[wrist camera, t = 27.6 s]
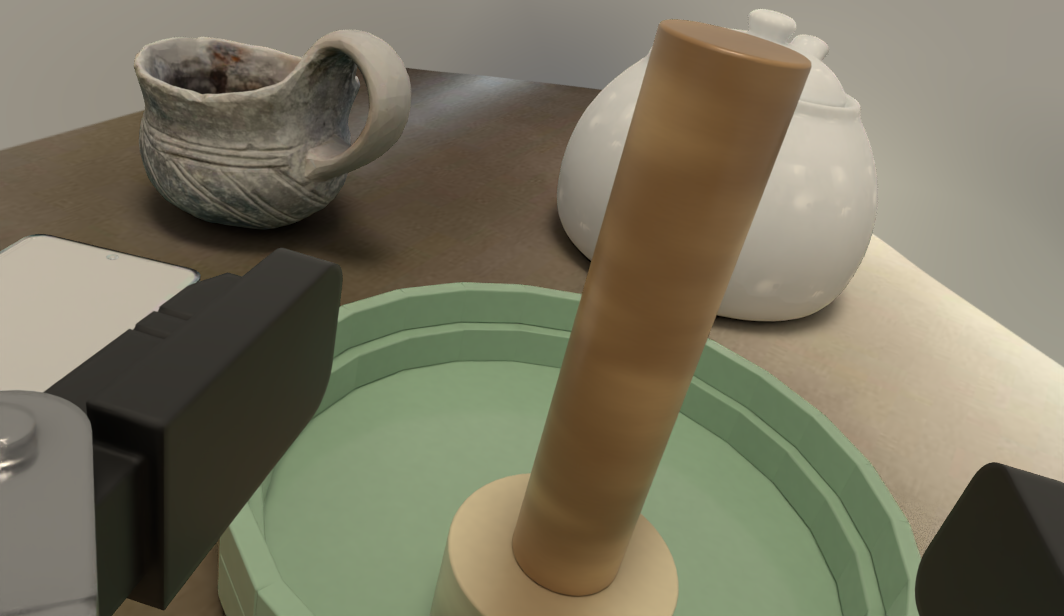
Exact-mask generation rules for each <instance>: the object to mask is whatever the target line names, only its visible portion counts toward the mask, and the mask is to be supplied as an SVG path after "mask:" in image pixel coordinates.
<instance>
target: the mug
mask: <svg viewBox="0 0 1064 616" xmlns="http://www.w3.org/2000/svg"><path fill="white" fill-rule="evenodd" d="M357 67H358V68H359V70H360V71H361V73H362V75H363V78H364V80H365V83H366V87H367V90H368V96H369V114H368V118H367V122H366V126H365V127H364V129H363V131H362V132H361V134H360V135H359V137H358V138H357V140H356V141H355V142H354V143H353V144H352V145H351V144H350V131H349V128H348V117H349V113H350V110H351V107H352V104H353V102H354V100H355V97H356V95H357V93H358V91H359V88H360V83H359V80H358V78H357V76H356V71H357ZM134 69H135V72H136V75H137V78H138V81H139V84H140V87H141V90H142V93H143V97H144V102H145V111H144V113H143V118H142V120H141V125H140V132H139V146H140V153H141V157H142V161H143V164H144V168H145V170H146V173H147V176H148V178H149V179H150V181H151V183H152V184H153V185H154V187H155V188H156V189H157V191H158V192H159V193H160V194H161V195H162V196H163V197H164V199H165V200H167V201H169V202H170V203H172V204H173V205H175V206H176V207H178V208H180V209H181V210H183V211H185V212H187V213H189V214H191V215H193V216H195V217H196V218H200V219H202V220H204V221H207V222H211V223H220V224H224V225H230V226H237V227H244V228H253V229H271V228H278V227H281V226H287V225H289V224H292V223H295V222H298V221H300V220H302V219H304V218H306V217H308V216H310V215H311V214H313V213H315V212H317V211H320V210H322V209H323V208H325V207H326V205H328V204H329V202H331V201H332V200H333V199H334V198H335V197H336V195H337V194H338V192H339V191H340V189H341V188H342V186H343V185H344V182H345V180H346V177H347V174H348V173H349V172H351V171H353V170H356V169H358V168H360V167H362V166H364V165H367V164H369V163H370V162H372V161H374V160H375V159H377V158H379V157H380V156H382V155H383V154H384V153H385V152H386V151H388V150H389V149H390V148H391V147H392V146H393V145H394V144H395V143H396V142H397V141H398V139H399V138H400V136H401V134H402V132H403V130H404V128H405V125H406V123H407V121H408V116H409V112H410V105H411V85H410V79H409V76H408V74H407V71H406V68H405V66H404V64H403V61H402V60H401V59H400V57H399V56H398V55H397V53H396V52H395V51H394V49H393V48H392V47H391V46H390V45H389V44H388V43H386V42H385V41H384V40H382V39H381V38H378V37H377V36H374V35H372V34H370V33H368V32H366V31H358V30H336V31H334V32H331V33H329V34H327V35H325V36H324V37H322V38H320V39H319V40H317V42H316V43H315V44H314V45H313V46H312V47H311V48H310V49H309V50H308V51H307V52H306V53H305V54H304V56H303V57H297V56H293V55H291V54H288V53H284V52H281V51H278V50H275V49H271V48H267V47H263V46H255V45H249V44H243V43H239V42H234V41H229V40H223V39H216V38H209V37H199V38H197V39H194V38H186V37H174V38H169V39H164V40H159V41H157V42H154V43H151V44H147V45H146V46H144V47H143V48H142V50H141V51H140V52H139V53H137V55H136V57H135V60H134Z"/></svg>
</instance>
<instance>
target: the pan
mask: <svg viewBox="0 0 1064 616" xmlns="http://www.w3.org/2000/svg"><path fill="white" fill-rule="evenodd" d="M581 296H582V294H578V293H572V292H566V291H560V290H554V289H548V288H542V287H536V286H530V285H522V284H497V283H470V282H462V283H460V282H458V283H448V284H439V285H430V286H420V287H411V288H402V289H397V290H393V291H390V292H387V293H383V294H380V295H376V296H373V297H369V298H366V299H362V300H359V301H355V302H352V303H349V304H345V305H342V306H340V307H339V315H338V323H337V331H336V339H335V347H334V355H333V364H332V370H331V375H330V379H329V383H328V386H327V389H326V392H325V395H324V397H323V399H322V402H321V404H320V406H319V408H318V409H317V411H316V413H315V414H314V416H313V417H312V419H311V420H310V421H309V422H308V424H307V425H306V426H305V428H304V429H303V430H302V432H301V433H300V434H299V435H298V437H297V438H296V439H295V441H294V442H293V443H292V445H291V446H290V447H289V448H288V450H287V451H286V452H285V454H284V455H283V456H282V458H281V459H280V460H279V461H278V463H277V464H276V465H275V467H274V468H273V469H272V471H271V472H270V473H269V474H268V476H267V477H266V478H265V480H264V481H263V482H262V484H261V485H260V486H259V487H258V489H257V490H256V491H255V493H254V494H253V495H252V497H251V498H250V499H249V501H248V502H247V503H246V504H245V506H244V507H243V508H242V510H241V511H240V512H239V514H238V515H237V516H236V517H235V519H234V520H233V521H232V523H231V524H230V525H229V527H228V528H227V529H226V530H225V532H224V533H223V534H222V536H221V537H220V538H219V540H218V595H219V598H220V601H221V604H222V606H223V609H224V612H225V614H226V616H430V611H431V606H432V602H433V598H434V593H435V589H436V585H437V580H438V576H439V572H440V567H441V563H442V559H443V554H444V550H445V546H446V541H447V537H448V533H449V528H450V525H451V523H452V520H453V517H454V516H455V514H456V512H457V510H458V509H459V507H460V506H461V505H462V504H463V502H464V501H465V500H466V499H467V498H468V497H469V496H470V495H472V494H473V493H474V492H475V491H476V490H478V489H479V488H481V487H483V486H484V485H486V484H488V483H490V482H493V481H495V480H497V479H501V478H504V477H507V476H512V475H518V474H527V473H531V471H532V467H533V464H534V460H535V457H536V453H537V450H538V446H539V443H540V439H541V436H542V432H543V429H544V425H545V422H546V418H547V415H548V411H549V408H550V404H551V401H552V397H553V394H554V390H555V387H556V383H557V380H558V376H559V373H560V369H561V366H562V362H563V359H564V355H565V352H566V348H567V345H568V341H569V338H570V334H571V331H572V327H573V324H574V320H575V317H576V313H577V310H578V306H579V303H580V299H581ZM641 514H642V515H643V516H644V517H645V518H646V519H647V520H648V521H649V522H650V523H651V524H652V525H653V526H654V527H655V529H656V530H657V531H658V532H659V534H660V535H661V536H662V538H663V540H664V541H665V543H666V545H667V546H668V548H669V550H670V552H671V555H672V557H673V560H674V563H675V566H676V569H677V576H678V582H679V595H678V600H677V606H676V609H675V611H674V614H673V616H919V613H918V610H917V606H916V601H915V581H916V575H917V571H918V567H919V564H920V561H921V556H920V553H919V550H918V547H917V544H916V541H915V538H914V534H913V531H912V528H911V525H910V524H909V521H908V519H907V518H906V516H905V515H904V513H903V512H902V510H901V509H900V507H899V505H898V504H897V502H896V501H895V499H894V498H893V496H892V495H891V493H890V491H889V490H888V488H887V487H886V485H885V484H884V482H883V481H882V479H881V477H880V476H879V474H878V473H877V471H876V470H875V468H874V467H873V466H872V464H871V463H870V462H869V460H868V459H867V458H866V457H865V456H864V455H863V454H862V453H861V452H860V451H859V450H858V449H857V448H856V447H855V446H854V445H853V444H852V443H851V442H850V441H849V440H848V439H847V438H846V436H845V435H844V434H843V433H842V432H841V431H840V430H839V429H838V428H837V427H836V426H835V425H834V424H833V423H832V422H831V421H830V420H829V419H828V418H827V417H826V416H825V415H823V413H822V412H820V411H819V410H818V409H816V408H815V407H814V406H812V405H811V404H810V403H808V402H807V401H806V400H805V399H803V398H802V397H801V396H799V395H798V394H797V393H795V392H794V391H793V390H791V389H790V388H789V387H787V386H786V385H785V384H784V383H782V382H781V381H780V380H778V379H777V378H776V377H774V376H773V375H772V374H770V373H769V372H768V371H766V370H764V369H762V368H761V367H759V366H757V365H755V364H754V363H752V362H750V361H748V360H747V359H745V358H743V357H741V356H740V355H738V354H736V353H734V352H733V351H731V350H729V349H727V348H726V347H724V346H722V345H720V344H719V343H717V342H715V341H713V340H710V339H709V338H708V339H707V341H706V344H705V346H704V349H703V352H702V354H701V357H700V360H699V362H698V365H697V367H696V370H695V373H694V375H693V378H692V380H691V383H690V386H689V388H688V391H687V393H686V396H685V399H684V401H683V404H682V406H681V409H680V412H679V414H678V417H677V419H676V422H675V425H674V427H673V430H672V432H671V435H670V438H669V440H668V443H667V446H666V448H665V451H664V453H663V456H662V459H661V461H660V464H659V466H658V469H657V472H656V474H655V477H654V479H653V482H652V485H651V487H650V490H649V492H648V495H647V498H646V500H645V503H644V505H643V508H642V511H641Z"/></svg>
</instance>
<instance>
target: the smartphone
mask: <svg viewBox="0 0 1064 616" xmlns="http://www.w3.org/2000/svg"><path fill="white" fill-rule="evenodd" d="M197 282H200V274H199V272H197V271H196V270H194V269H191V268H187V267H183V266H178V265H174V264H170V263H166V262H162V261H157V260H153V259H149V258H145V257H140V256H136V255H132V254H128V253H124V252H119V251H115V250H111V249H107V248H103V247H98V246H94V245H90V244H86V243H81V242H77V241H73V240H69V239H65V238H60V237H56V236H52V235H46V234H35V235H30V236H26V237H24V238H22V239H21V240H19V241H17V242H16V243H14V244H12V245H11V246H9V247H7V248H6V249H4V250H2V251H0V391H7V390H24V391H36V392H44V391H45V390H47V389H48V388H49V387H51V386H52V385H53V384H55V383H56V382H57V381H59V380H60V379H62V378H63V377H64V376H66V375H67V374H68V373H70V372H71V371H72V370H74V369H75V368H76V367H78V366H79V365H81V364H82V363H83V362H85V361H86V360H87V359H89V358H90V357H91V356H93V355H94V354H96V353H97V352H98V351H100V350H101V349H102V348H104V347H105V346H106V345H108V344H109V343H110V342H112V341H113V340H115V339H116V338H117V337H119V336H120V335H121V334H123V333H124V332H125V331H127V330H128V329H132V330H134V328H135V325H136V323H138V322H139V321H140V320H142V319H143V318H144V317H146V316H147V315H149V314H150V313H151V312H153V311H157V312H158V310H159V306H161V305H162V304H164V303H165V302H166V301H168V300H169V299H170V298H172V297H173V296H174V295H176V294H177V293H178V292H180V291H181V290H183V289H184V288H185V287H187V286H188V285H191V284H194V283H197Z"/></svg>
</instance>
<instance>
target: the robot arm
mask: <svg viewBox="0 0 1064 616" xmlns="http://www.w3.org/2000/svg"><path fill="white" fill-rule="evenodd" d="M341 290H342V270H341V267H340V266H339V265H338V264H335V263H332V262H329V261H325V260H322V259H319V258H315V257H312V256H308V255H305V254H302V253H298V252H295V251H292V250H288V249H285V248H279V249H276V250H275V251H274V252H272V253H271V254H270V255H269V256H267V257H266V258H265V259H264V260H262V261H261V262H260V263H259V264H257V265H256V266H255V267H254V268H252V269H251V270H250V271H249V272H247V273H246V274H245V275H244V276H242V277H241V276H238V275H234V274H231V273H225V274H222V275H219V276H216V277H213V278H210V279H207V280H203V281H200V282H197V283H194V284H191V285H188V286H187V287H185V288H184V289H183V290H181V291H180V292H178V293H177V294H176V295H174V296H173V297H172V298H170V299H169V300H168V301H166V302H165V303H164V304H162V305H161V306H159V310H158V312H157V311H153V312H151V313H150V314H149V315H147V316H146V317H144V318H143V319H142V320H140V321H139V322H138V323H136V325H135V328H134V330H132V329H128V330H127V331H125V332H124V333H123V334H121V335H120V336H119V337H117V338H116V339H115V340H113V341H112V342H110V343H109V344H108V345H106V346H105V347H104V348H102V349H101V350H100V351H98V352H97V353H96V354H94V355H93V356H91V357H90V358H89V359H87V360H86V361H85V362H83V363H82V364H81V365H79V366H78V367H76V368H75V369H74V370H72V371H71V372H70V373H68V374H67V375H66V376H64V377H63V378H62V379H60V380H59V381H57V382H56V383H55V384H53V385H52V386H51V387H49V388H48V389H47V390H45V391H44V392H36V391H24V390H7V391H0V616H112V615H113V613H114V612H115V611H116V610H117V609H118V607H119V606H120V605H121V604H122V603H123V602H124V600H125V599H126V598H128V599H131V600H134V601H137V602H140V603H143V604H146V605H149V606H152V607H155V608H158V609H161V610H165V609H166V607H167V606H168V605H169V603H170V602H171V601H172V599H173V598H174V597H175V596H176V594H177V593H178V592H179V590H180V589H181V588H182V586H183V585H184V584H185V583H186V581H187V580H188V579H189V577H190V576H191V575H192V573H193V572H194V571H195V570H196V568H197V567H198V566H199V564H200V563H201V562H202V560H203V559H204V558H205V556H206V555H207V554H208V553H209V551H210V550H211V549H212V547H213V546H214V545H215V543H216V542H217V541H218V540H219V538H220V537H221V536H222V534H223V533H224V532H225V530H226V529H227V528H228V527H229V525H230V524H231V523H232V521H233V520H234V519H235V517H236V516H237V515H238V514H239V512H240V511H241V510H242V508H243V507H244V506H245V504H246V503H247V502H248V501H249V499H250V498H251V497H252V495H253V494H254V493H255V491H256V490H257V489H258V487H259V486H260V485H261V484H262V482H263V481H264V480H265V478H266V477H267V476H268V474H269V473H270V472H271V471H272V469H273V468H274V467H275V465H276V464H277V463H278V461H279V460H280V459H281V458H282V456H283V455H284V454H285V452H286V451H287V450H288V448H289V447H290V446H291V445H292V443H293V442H294V441H295V439H296V438H297V437H298V435H299V434H300V433H301V432H302V430H303V429H304V428H305V426H306V425H307V424H308V422H309V421H310V420H311V419H312V417H313V416H314V414H315V413H316V411H317V409H318V408H319V406H320V404H321V402H322V399H323V397H324V395H325V392H326V389H327V386H328V383H329V379H330V375H331V370H332V364H333V355H334V347H335V339H336V331H337V323H338V315H339V307H340V299H341ZM915 601H916V606H917V610H918V613H919V616H1064V483H1062V482H1060V481H1057V480H1054V479H1050V478H1047V477H1044V476H1040V475H1037V474H1034V473H1030V472H1027V471H1024V470H1020V469H1017V468H1014V467H1010V466H1007V465H1004V464H1000V463H995V462H993V463H989V464H986V465H984V466H983V467H982V468H980V470H979V471H978V472H977V473H976V474H975V475H974V477H973V478H972V480H971V481H970V483H969V484H968V486H967V487H966V489H965V490H964V492H963V494H962V495H961V497H960V498H959V500H958V501H957V503H956V504H955V506H954V508H953V509H952V511H951V512H950V514H949V515H948V517H947V518H946V520H945V521H944V523H943V525H942V526H941V528H940V529H939V531H938V532H937V534H936V535H935V537H934V539H933V540H932V542H931V543H930V545H929V546H928V548H927V549H926V551H925V553H924V555H923V556H922V559H921V561H920V564H919V567H918V571H917V575H916V581H915Z"/></svg>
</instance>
